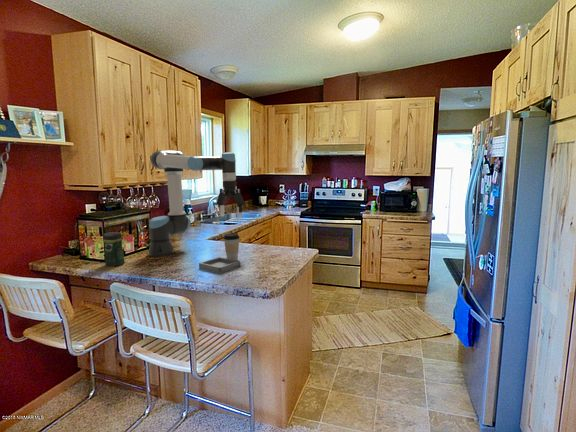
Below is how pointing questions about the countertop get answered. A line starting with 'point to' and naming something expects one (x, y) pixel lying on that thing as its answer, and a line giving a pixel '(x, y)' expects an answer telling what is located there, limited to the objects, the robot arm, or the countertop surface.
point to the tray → (219, 265)
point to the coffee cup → (231, 245)
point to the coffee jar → (113, 249)
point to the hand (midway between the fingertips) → (230, 217)
